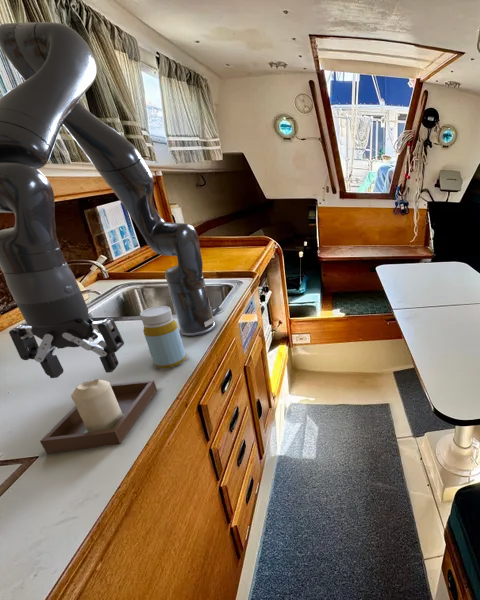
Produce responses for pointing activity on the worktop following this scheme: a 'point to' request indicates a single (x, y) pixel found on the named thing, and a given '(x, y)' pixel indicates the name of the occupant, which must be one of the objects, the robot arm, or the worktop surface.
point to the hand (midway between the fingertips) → (85, 372)
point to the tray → (73, 436)
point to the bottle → (162, 337)
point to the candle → (97, 405)
